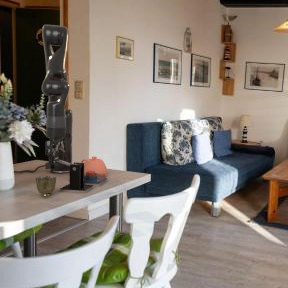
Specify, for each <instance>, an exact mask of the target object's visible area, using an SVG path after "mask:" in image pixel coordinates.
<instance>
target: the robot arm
mask: <svg viewBox="0 0 288 288" xmlns="http://www.w3.org/2000/svg"><path fill="white" fill-rule="evenodd" d="M41 34H42V43H43V49H44V58H45V73H46V75H45V78H44V80H43V81H42V84H41V91H42V93H43V95H45V96H47V97H48V102H47V104H46V119H45V121H46V122H45V123H46V124H45V127H46V129H45V133H46V135H45V136H46V137H47V138H49V140H45V145H44V147H45V148H44V154H45V156H47V157H48V161H46V162H44V164H41V165H39V166H37V167H35V169H33V170H32V169H31V170H30V169H22V170H14V172H13V173H16V174H21V173H26V172H28V173H36V172H37V171H38V170H39V169H41V168H44V167H45V170H50V172H51V173H55V174H68V173H70V166H68V165H65V164H62V163H60V162H57V161H55V157H59V158H60V160H63V161H65V162H68V163H70V164H73V124H74V123H73V122H74V112H73V110H72V109H71V108H66V103H67V99H68V97H69V94H70V90H71V87H70V83H69V80H68V79H69V77H68V71H67V69H66V61H67V55H68V50H69V44H70V33H69V29H68V27H67V26H64V25H55V24H44V25H43V26H42V29H41ZM52 46H53V47H59V48H58V49H57V50H56V51H55V52H54V49H53V47H52Z"/></svg>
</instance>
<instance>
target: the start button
mask: <svg viewBox="0 0 288 288" xmlns="http://www.w3.org/2000/svg"><path fill="white" fill-rule="evenodd" d="M86 175H87V176H93V175H95V171H87V172H86Z"/></svg>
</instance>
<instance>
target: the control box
mask: <svg viewBox="0 0 288 288" xmlns="http://www.w3.org/2000/svg"><path fill="white" fill-rule="evenodd" d="M107 180H108V176H105V175H104V176H99V174H97V173H95V175H93V176H87V175H86V173H85V174H84V184H88V185H100V184H102V183H103V182H105V181H107Z"/></svg>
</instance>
